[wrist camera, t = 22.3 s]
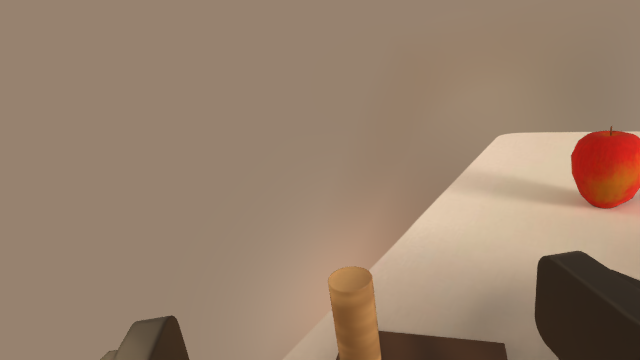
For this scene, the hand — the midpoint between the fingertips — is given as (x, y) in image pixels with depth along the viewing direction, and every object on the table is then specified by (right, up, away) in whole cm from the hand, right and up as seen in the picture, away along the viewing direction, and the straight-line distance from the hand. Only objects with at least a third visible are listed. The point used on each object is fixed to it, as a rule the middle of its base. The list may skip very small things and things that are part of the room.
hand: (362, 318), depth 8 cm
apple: (+42, -1, +50) cm, 65 cm away
